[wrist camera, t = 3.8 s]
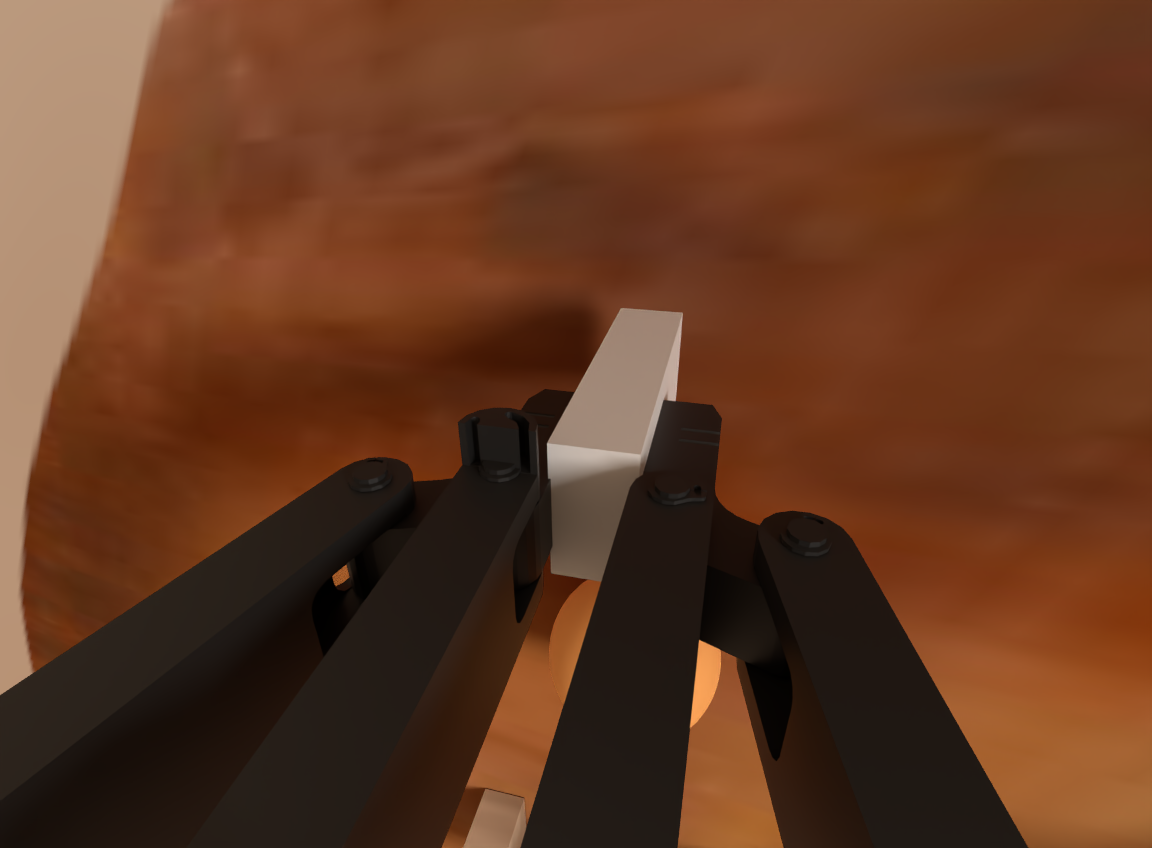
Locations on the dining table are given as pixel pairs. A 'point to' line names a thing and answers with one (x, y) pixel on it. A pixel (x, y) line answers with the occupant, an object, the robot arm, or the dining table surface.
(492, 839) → the bridge
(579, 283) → the dining table surface
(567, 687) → the ball
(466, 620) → the robot arm
